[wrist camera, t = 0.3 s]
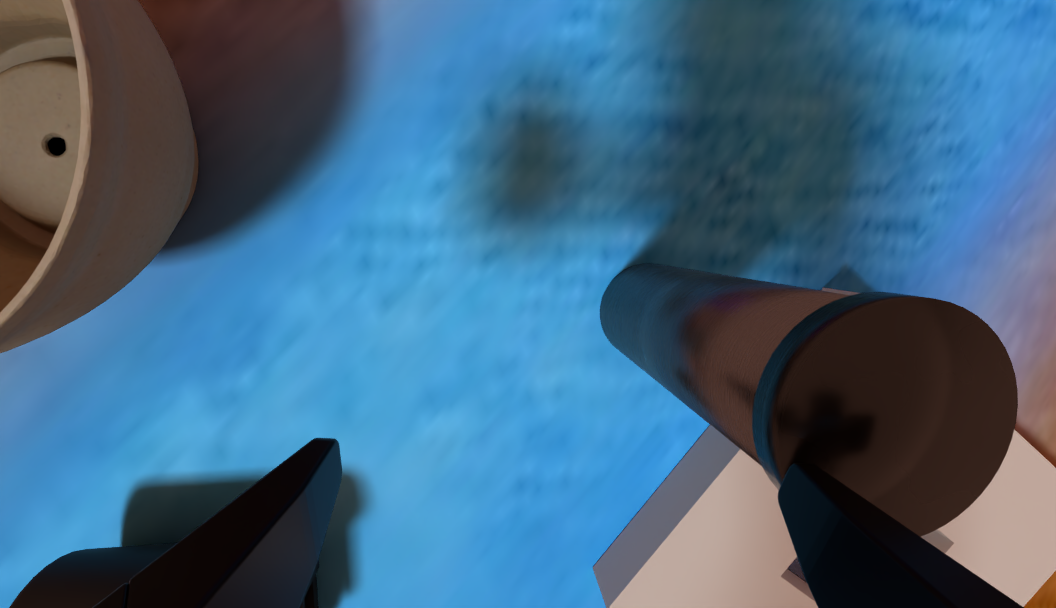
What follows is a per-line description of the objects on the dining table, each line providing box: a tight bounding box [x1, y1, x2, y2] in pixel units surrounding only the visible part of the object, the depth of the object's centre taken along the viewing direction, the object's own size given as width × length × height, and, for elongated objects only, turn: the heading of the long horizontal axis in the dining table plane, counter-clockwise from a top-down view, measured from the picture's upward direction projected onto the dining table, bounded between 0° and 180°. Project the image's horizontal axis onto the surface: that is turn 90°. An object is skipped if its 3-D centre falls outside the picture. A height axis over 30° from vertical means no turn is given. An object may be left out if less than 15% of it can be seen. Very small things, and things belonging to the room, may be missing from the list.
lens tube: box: [600, 263, 1018, 537], centre depth 17 cm, size 5×5×15 cm
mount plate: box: [593, 288, 1056, 608], centre depth 26 cm, size 20×20×3 cm
